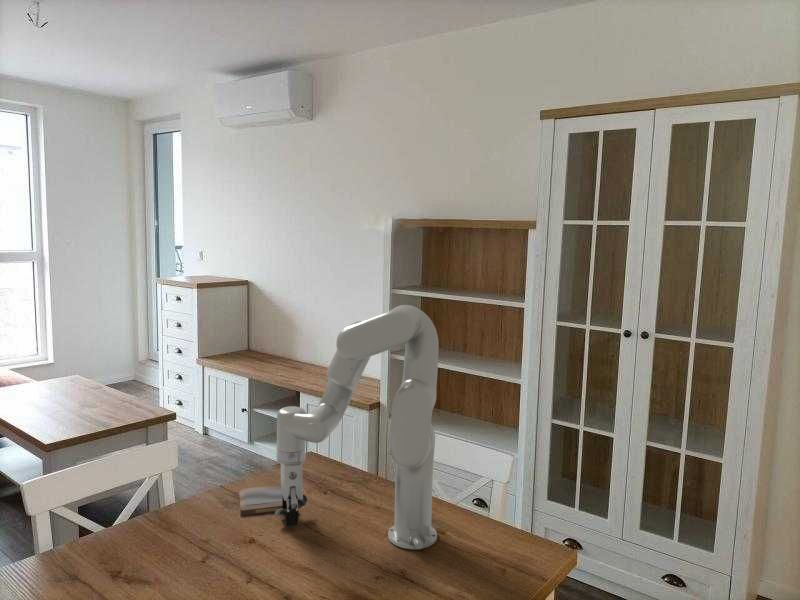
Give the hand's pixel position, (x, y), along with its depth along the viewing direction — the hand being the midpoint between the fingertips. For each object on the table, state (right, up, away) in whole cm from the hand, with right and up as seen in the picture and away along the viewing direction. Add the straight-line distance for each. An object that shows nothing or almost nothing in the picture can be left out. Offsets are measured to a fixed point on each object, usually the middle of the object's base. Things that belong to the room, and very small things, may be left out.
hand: (289, 516), depth 157 cm
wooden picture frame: (-10, 0, +13) cm, 16 cm away
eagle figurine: (0, -2, +2) cm, 3 cm away
